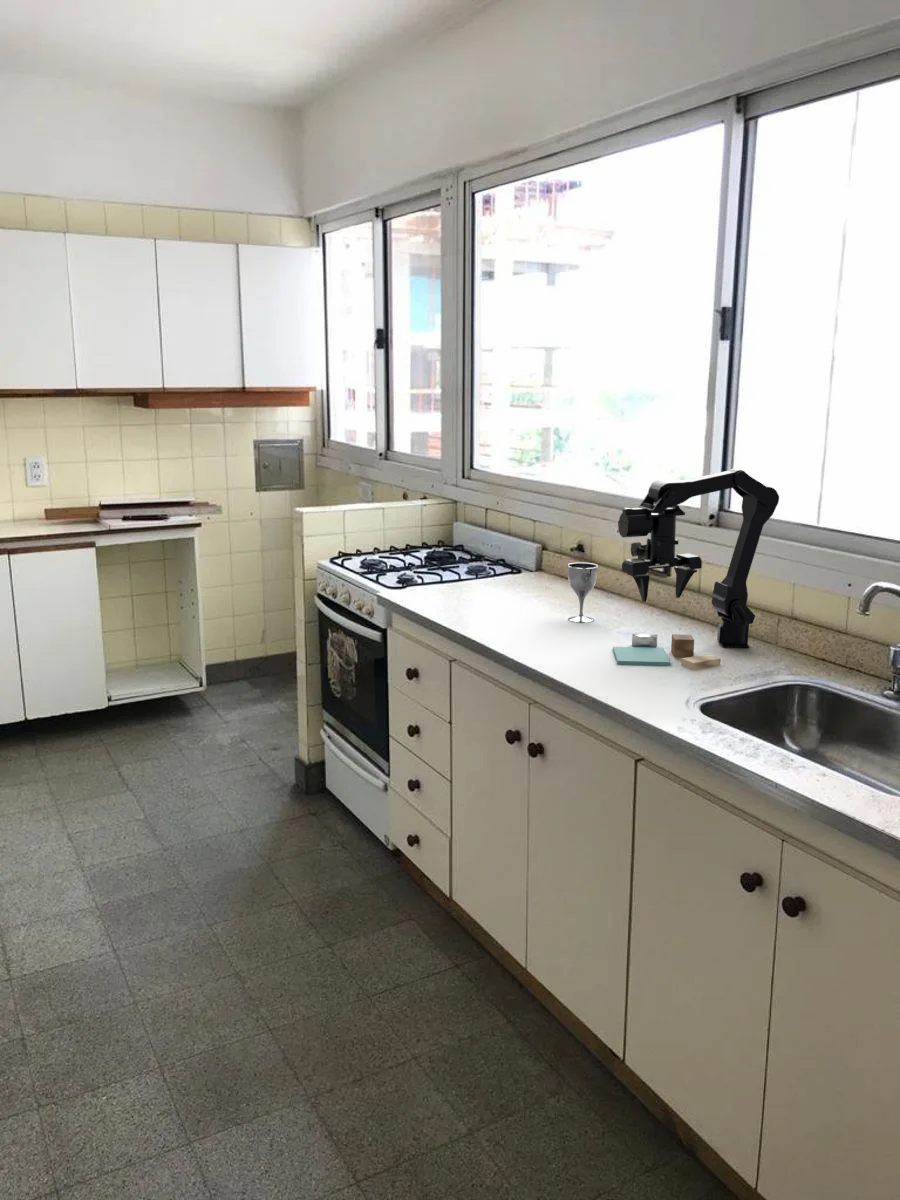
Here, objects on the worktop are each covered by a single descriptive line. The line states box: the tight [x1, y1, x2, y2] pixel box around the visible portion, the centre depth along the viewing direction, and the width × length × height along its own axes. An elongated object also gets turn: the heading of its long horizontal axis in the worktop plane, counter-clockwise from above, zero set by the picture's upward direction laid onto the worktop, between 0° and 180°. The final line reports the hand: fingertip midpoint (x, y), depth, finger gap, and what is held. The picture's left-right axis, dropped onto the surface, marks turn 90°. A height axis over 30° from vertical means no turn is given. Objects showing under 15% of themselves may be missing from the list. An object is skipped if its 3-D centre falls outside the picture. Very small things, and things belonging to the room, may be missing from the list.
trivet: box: [612, 646, 672, 666], centre depth 229 cm, size 12×12×1 cm
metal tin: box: [631, 631, 658, 648], centre depth 238 cm, size 6×6×3 cm
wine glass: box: [567, 562, 599, 624], centre depth 262 cm, size 8×8×15 cm
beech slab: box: [680, 653, 722, 671], centre depth 223 cm, size 8×4×2 cm, turn 116°
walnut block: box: [670, 633, 695, 659], centre depth 231 cm, size 4×4×4 cm
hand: (661, 599), depth 233 cm, fingers open, 9 cm apart
